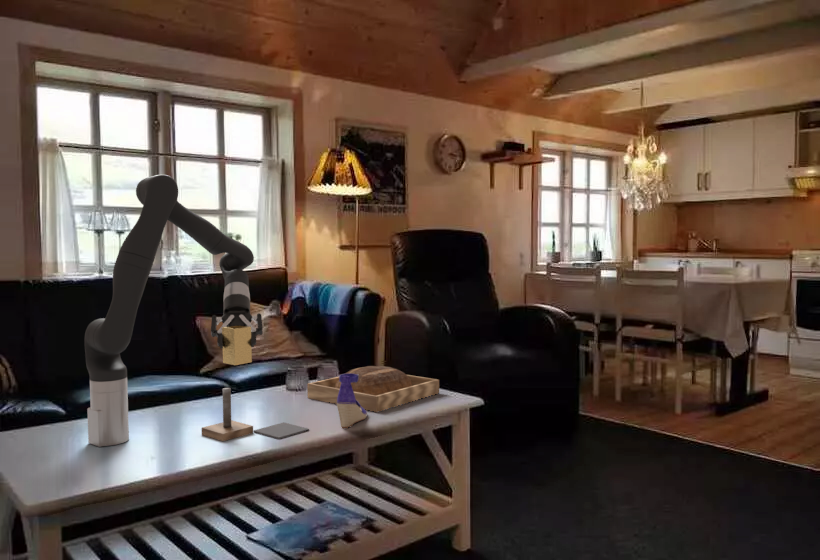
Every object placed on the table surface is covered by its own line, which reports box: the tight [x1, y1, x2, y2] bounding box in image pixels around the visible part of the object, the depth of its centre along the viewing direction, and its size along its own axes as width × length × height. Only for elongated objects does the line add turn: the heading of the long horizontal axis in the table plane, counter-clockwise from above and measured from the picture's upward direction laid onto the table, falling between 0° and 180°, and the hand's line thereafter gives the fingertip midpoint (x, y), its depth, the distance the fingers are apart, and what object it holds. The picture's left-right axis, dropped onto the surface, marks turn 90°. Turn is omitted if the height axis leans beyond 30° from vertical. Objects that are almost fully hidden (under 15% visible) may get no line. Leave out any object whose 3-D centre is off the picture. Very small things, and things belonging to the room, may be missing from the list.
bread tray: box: [306, 374, 440, 413], centre depth 233 cm, size 33×32×5 cm
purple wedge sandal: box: [336, 373, 368, 429], centre depth 201 cm, size 8×20×15 cm, turn 165°
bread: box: [335, 365, 412, 396], centre depth 236 cm, size 26×27×10 cm
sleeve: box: [221, 326, 253, 366], centre depth 187 cm, size 6×6×10 cm
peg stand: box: [201, 387, 254, 442], centre depth 187 cm, size 10×10×13 cm
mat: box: [253, 422, 310, 440], centre depth 190 cm, size 11×11×1 cm
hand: (237, 346), depth 186 cm, fingers closed on sleeve, 8 cm apart
